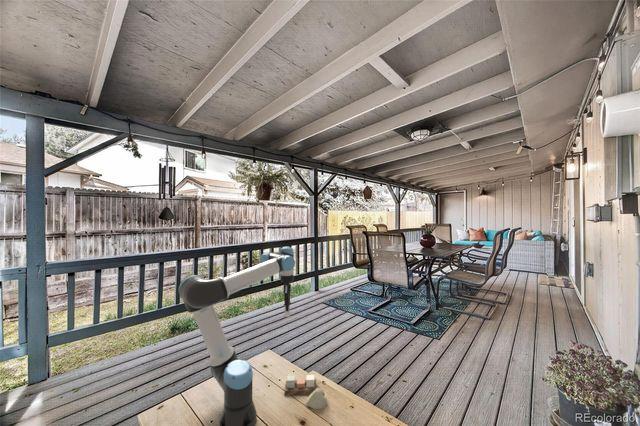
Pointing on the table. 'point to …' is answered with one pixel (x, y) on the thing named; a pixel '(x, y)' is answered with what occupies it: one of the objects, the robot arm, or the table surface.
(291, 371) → the table surface
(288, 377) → the button sage
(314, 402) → the grey rounded lump
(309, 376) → the button cream
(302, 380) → the button terracotta
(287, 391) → the walnut board
